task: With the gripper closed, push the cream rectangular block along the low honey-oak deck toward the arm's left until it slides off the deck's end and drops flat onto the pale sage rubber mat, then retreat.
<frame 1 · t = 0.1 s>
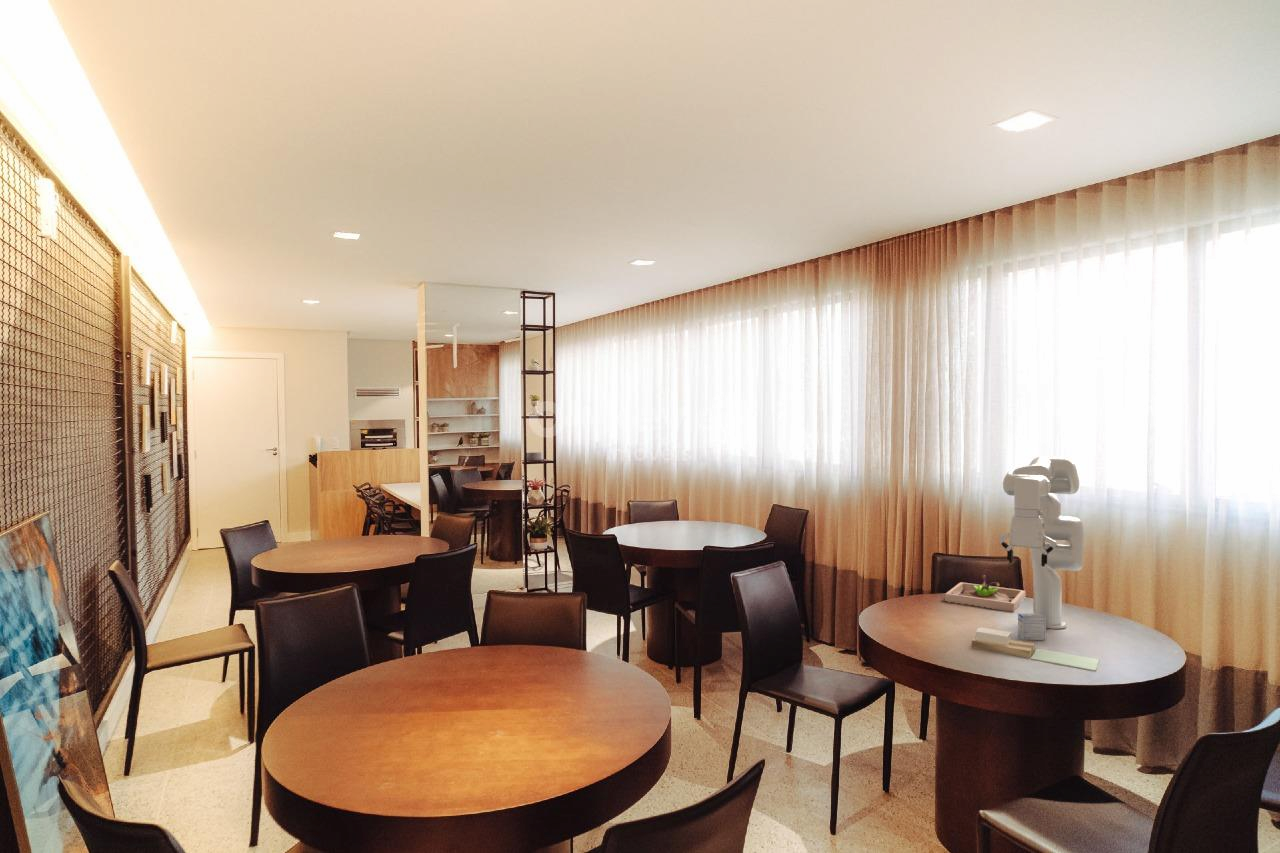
hand: (1027, 564, 232), 31 cm above the table, fingers open, 9 cm apart
planter tray: (985, 600, 304), on the table
plant: (985, 601, 304), resting in planter tray
medicine box: (1031, 639, 251), on the table
mat: (1064, 660, 228), on the table
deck: (1003, 648, 239), on the table
cream rectangular block: (993, 640, 241), point 2 cm above the table, touching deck
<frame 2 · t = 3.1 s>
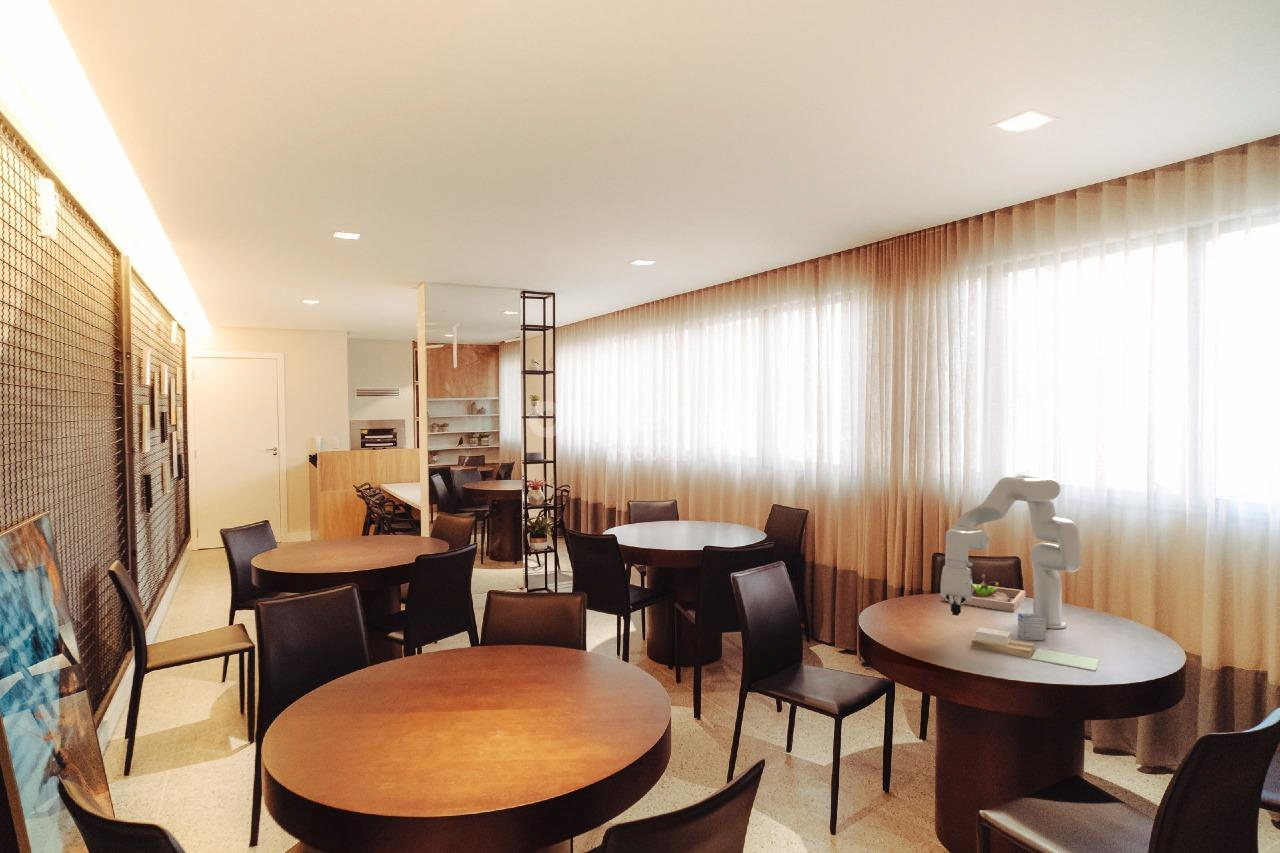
hand: (955, 614, 248), 10 cm above the table, fingers closed
plant: (984, 600, 306), resting in planter tray
everything else where it was.
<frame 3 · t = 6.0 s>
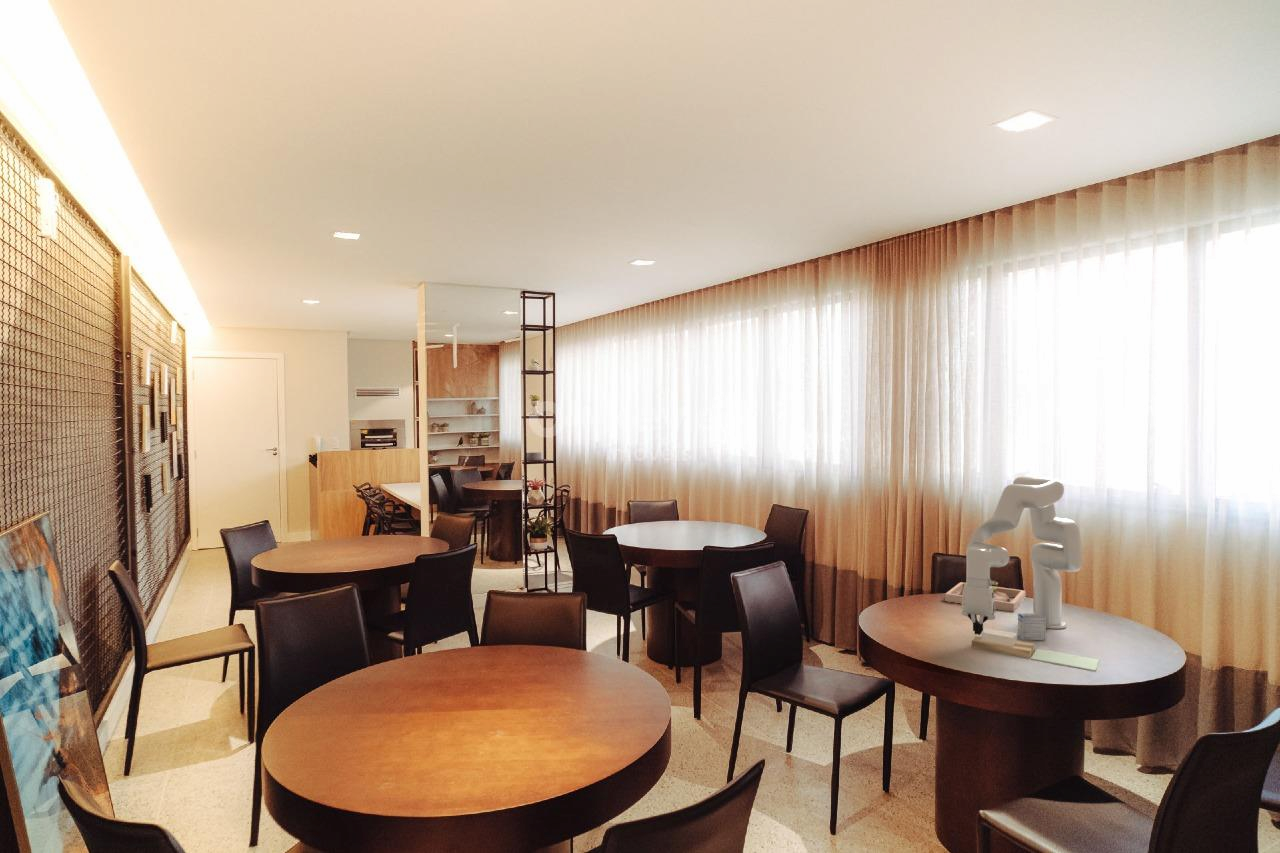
hand: (978, 633, 244), 4 cm above the table, fingers closed
cream rectangular block: (999, 641, 240), point 2 cm above the table, touching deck
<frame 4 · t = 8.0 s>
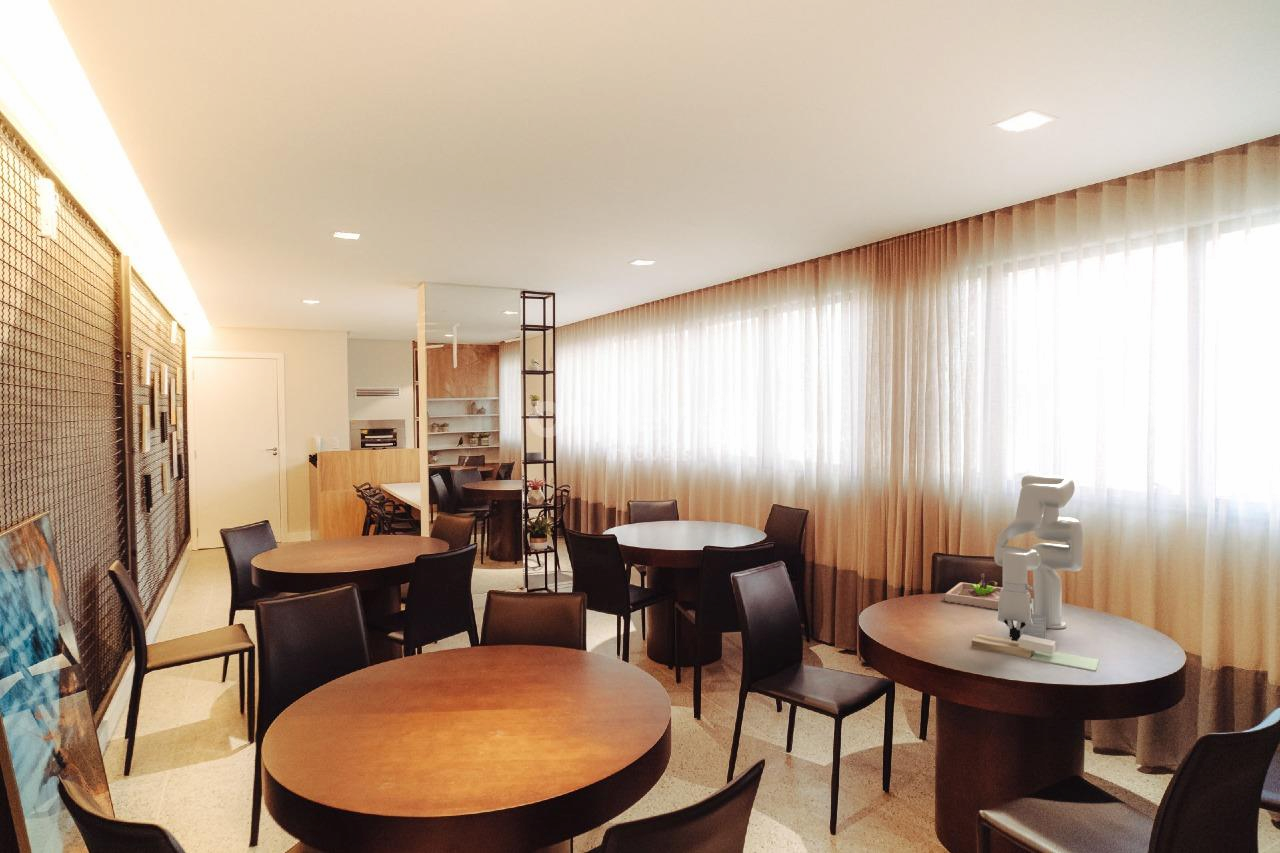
hand: (1014, 640, 237), 4 cm above the table, fingers closed
cream rectangular block: (1036, 648, 233), point 2 cm above the table, touching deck
everything else where it was.
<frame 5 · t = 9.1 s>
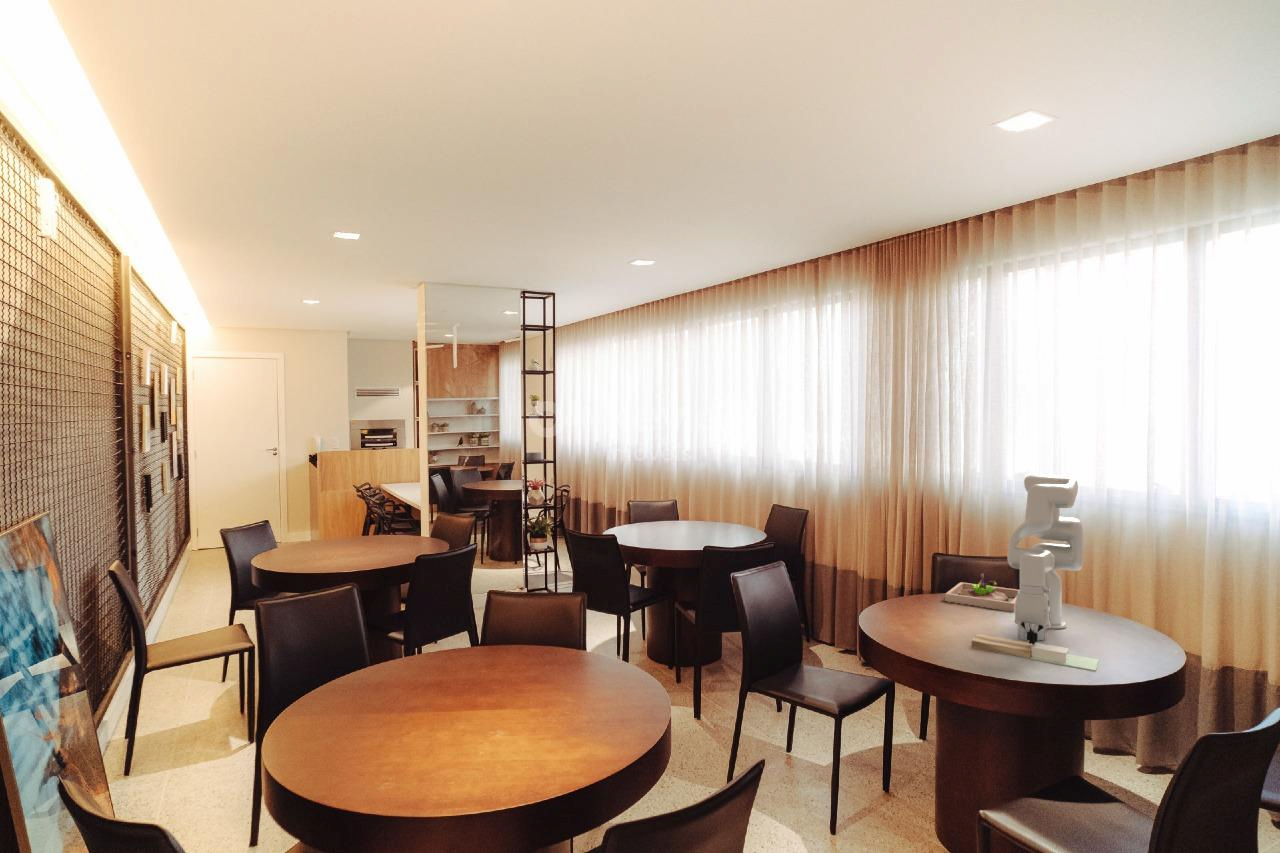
hand: (1032, 643, 234), 4 cm above the table, fingers closed
cream rectangular block: (1049, 656, 230), resting on mat
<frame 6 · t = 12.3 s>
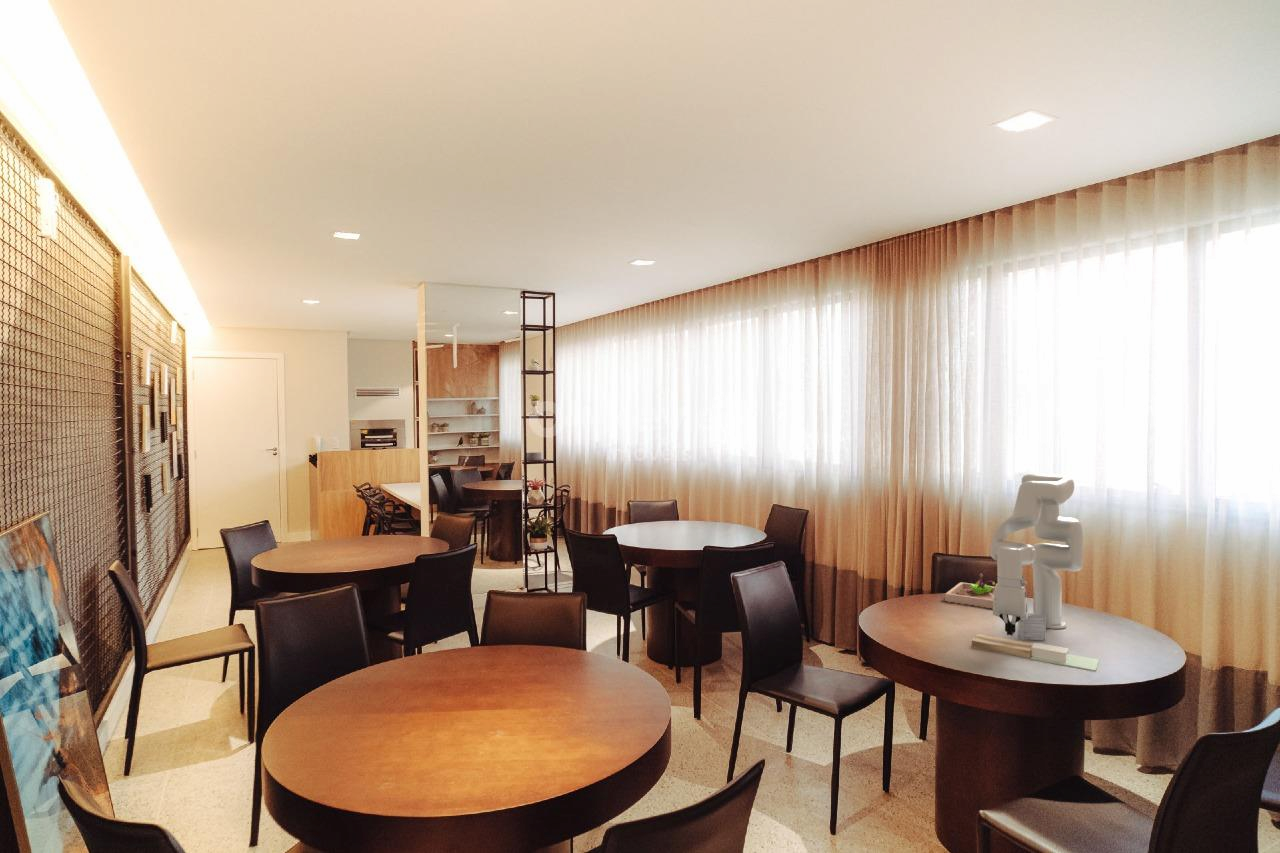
hand: (1010, 634, 239), 5 cm above the table, fingers closed
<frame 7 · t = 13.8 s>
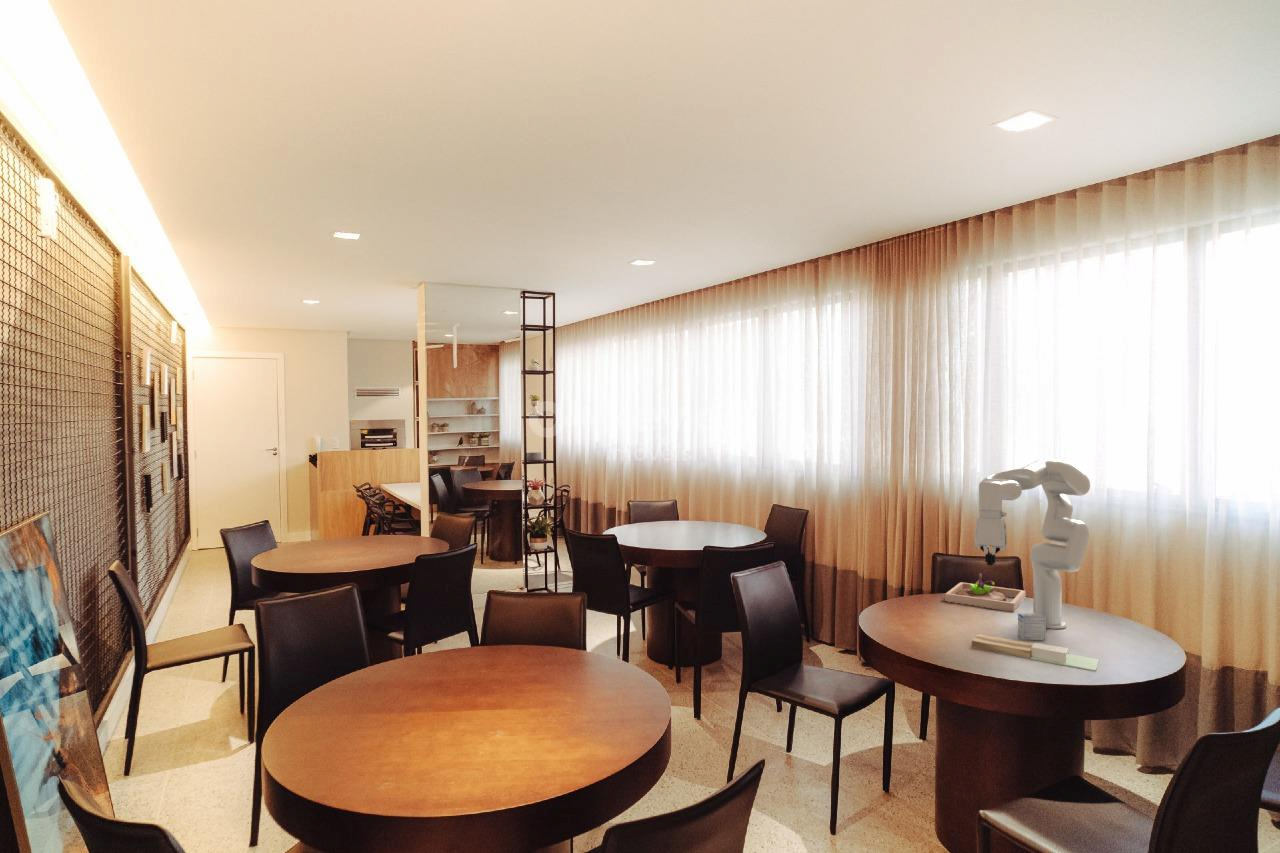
hand: (990, 564, 251), 27 cm above the table, fingers closed
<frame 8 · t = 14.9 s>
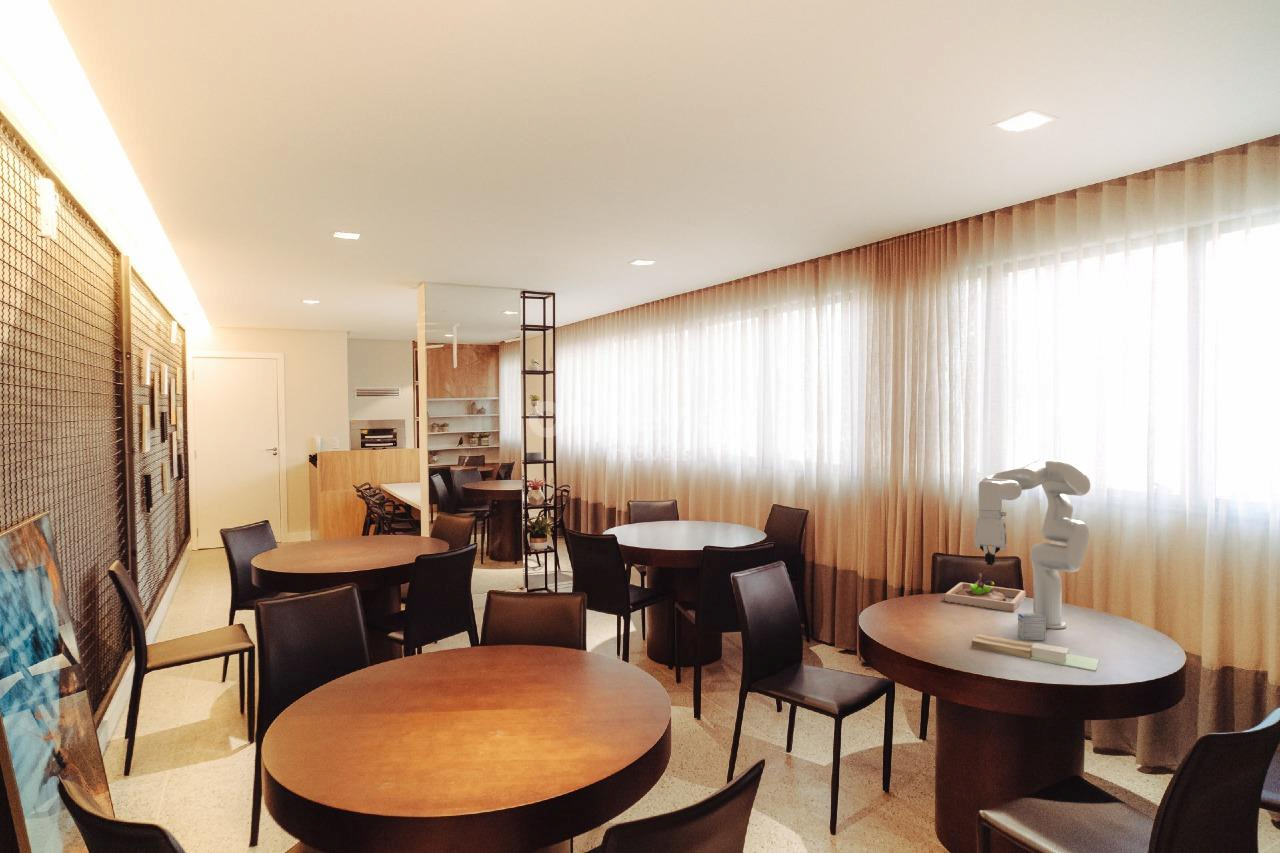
hand: (990, 564, 251), 27 cm above the table, fingers closed
at the end: cream rectangular block resting on mat; cream rectangular block inside the target area on the mat (4.3 cm from its centre), point 0.4 cm above the mat's base; cream rectangular block touching mat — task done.
